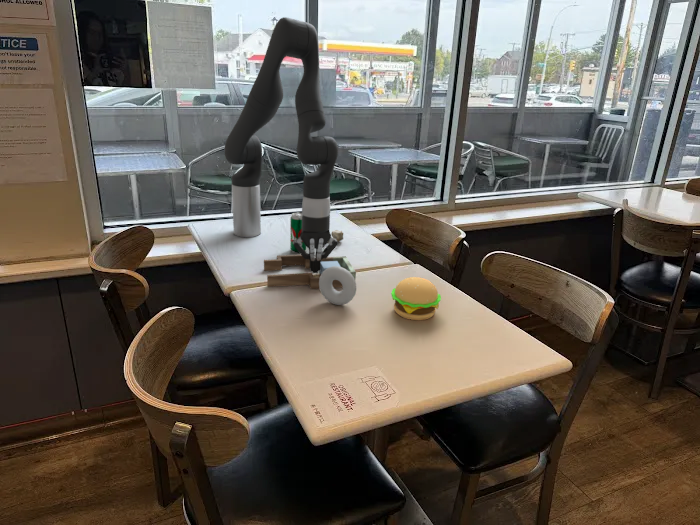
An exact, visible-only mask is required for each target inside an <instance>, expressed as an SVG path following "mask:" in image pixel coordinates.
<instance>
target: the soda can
mask: <svg viewBox="0 0 700 525" xmlns="http://www.w3.org/2000/svg"><path fill="white" fill-rule="evenodd" d="M289 220H290V230H289V231H290V235H289V236H290V242H289V243H290V246H289V248H290V250H291V252H293V253H296V254H297V253H298V254H300V253H299V251H298V250H297V249H296V248H295V247H294V245H293V240H297V239H298V238H299V237H300V234H301V232H302V212H293V213H291V216H290V219H289ZM301 243H302V246H301V247H302V248H303V249H304V250H305V251H307V246H306V245H305V244H304V242H303V241H302V242H301Z"/></svg>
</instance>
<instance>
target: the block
mask: <svg viewBox="0 0 700 525" xmlns="http://www.w3.org/2000/svg"><path fill="white" fill-rule="evenodd" d="M333 266H339V267H341V266H340V265H339V263H338V261H325V262H320V271H319V273H320V275H321V274H322V272H323V271H324V270H326V269H327V268H329V267H333Z"/></svg>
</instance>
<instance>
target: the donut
mask: <svg viewBox="0 0 700 525" xmlns="http://www.w3.org/2000/svg"><path fill="white" fill-rule="evenodd" d="M319 277H320V279H319V291H320V293H321V295H322V296H323V298H324V299H325V300H326V301H327V302H329V303H330V304H333V305H336V306H337V305H338V306H343V305H347V304H349V303H350V302H351V301H353V299H354V298H355V296H356V295H357V294H356V293H357V282H356V278H355V279H354V277H353V276H352V274H351V273H350V272H349V271H348V270H346V269H345V268H342V267H339V266H333V267H329V268H327V269H326V270H324V271H323V272H322V274H320V275H319ZM333 280H338V281H340V282H341V284H342V286H343V287H342V290H340V291H339V290H337V289H335V288H333V285H332V282H333Z"/></svg>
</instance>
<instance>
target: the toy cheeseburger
mask: <svg viewBox="0 0 700 525" xmlns="http://www.w3.org/2000/svg"><path fill="white" fill-rule="evenodd" d="M390 294H391V299H392V301H394V303H393V309H394V310H395V313H397V314H398V315H399V316H400V317H402V318H404V319H408V320H410V319H411V320H412V321H425V320H428V319H430V318H431V317H433V316H434V315H435V313H436V311H437V310H439V307H440V302H441V300H442V297H441V294H439V292H438V289H437V287H436V285H434V283H432V282H431V281H430V280H429V279H427V278H423V277H418V276H411V277H405V278H404V279H402V280H401V281H399V282H398V283H397V285H396V287H394V288H393V289H392V290H391V293H390ZM411 320H410V321H411Z"/></svg>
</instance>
